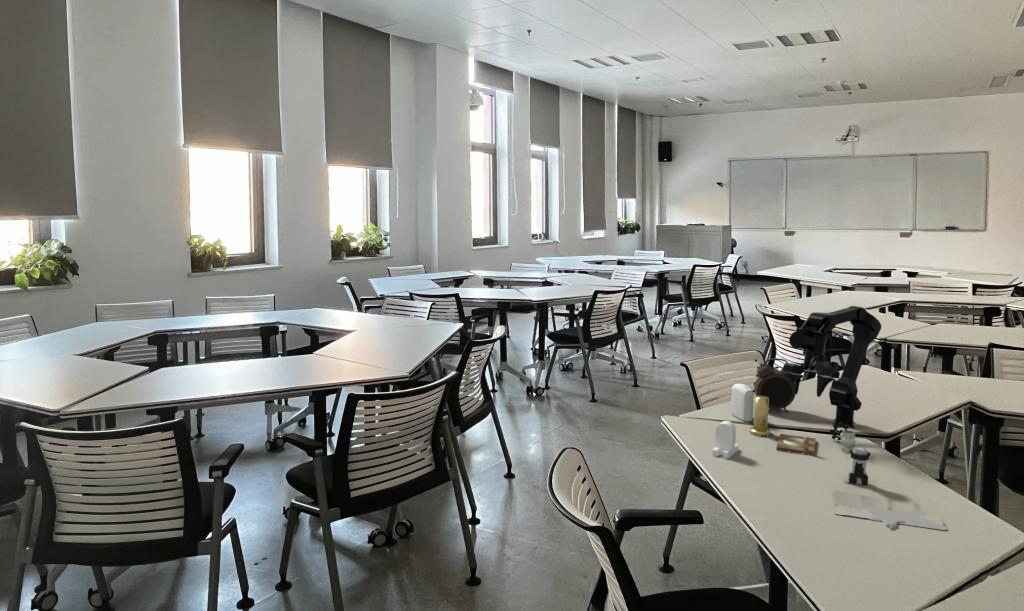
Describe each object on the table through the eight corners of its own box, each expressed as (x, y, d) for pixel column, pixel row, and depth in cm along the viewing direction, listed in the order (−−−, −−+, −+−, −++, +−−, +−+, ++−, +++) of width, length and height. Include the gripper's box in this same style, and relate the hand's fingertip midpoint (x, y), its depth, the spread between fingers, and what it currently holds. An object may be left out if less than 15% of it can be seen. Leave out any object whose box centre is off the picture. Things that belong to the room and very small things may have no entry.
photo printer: (728, 413, 263) (730, 381, 261) (739, 413, 264) (741, 380, 262) (743, 422, 253) (745, 388, 251) (754, 421, 254) (756, 388, 252)
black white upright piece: (844, 485, 198) (847, 451, 197) (840, 478, 204) (842, 444, 202) (870, 487, 197) (873, 453, 195) (865, 480, 202) (868, 446, 200)
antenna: (835, 522, 177) (835, 518, 176) (830, 489, 198) (830, 485, 198) (951, 539, 168) (951, 535, 168) (932, 502, 190) (932, 498, 189)
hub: (769, 437, 237) (772, 401, 235) (748, 434, 240) (750, 399, 238) (772, 429, 246) (774, 394, 244) (751, 426, 248) (753, 392, 247)
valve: (860, 454, 222) (849, 441, 234) (862, 434, 221) (851, 422, 233) (837, 453, 223) (828, 440, 235) (839, 433, 222) (830, 421, 234)
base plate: (780, 436, 238) (780, 422, 238) (815, 441, 234) (816, 426, 233) (776, 450, 226) (777, 435, 225) (813, 455, 221) (814, 440, 220)
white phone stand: (711, 455, 221) (712, 424, 220) (722, 446, 229) (723, 416, 228) (728, 459, 218) (729, 428, 217) (738, 449, 226) (739, 419, 225)
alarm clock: (755, 412, 265) (758, 360, 262) (752, 406, 272) (755, 355, 269) (796, 414, 262) (799, 361, 259) (792, 408, 269) (795, 357, 266)
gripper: (807, 351, 228) (799, 398, 230) (855, 357, 233) (846, 403, 235) (785, 345, 239) (777, 391, 240) (831, 351, 244) (823, 395, 245)
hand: (807, 395), depth 240 cm, fingers open, 9 cm apart
